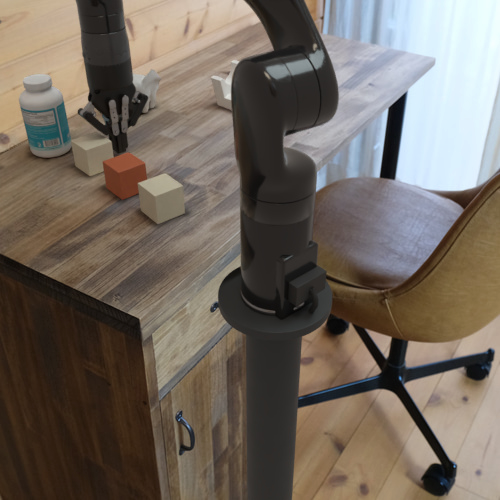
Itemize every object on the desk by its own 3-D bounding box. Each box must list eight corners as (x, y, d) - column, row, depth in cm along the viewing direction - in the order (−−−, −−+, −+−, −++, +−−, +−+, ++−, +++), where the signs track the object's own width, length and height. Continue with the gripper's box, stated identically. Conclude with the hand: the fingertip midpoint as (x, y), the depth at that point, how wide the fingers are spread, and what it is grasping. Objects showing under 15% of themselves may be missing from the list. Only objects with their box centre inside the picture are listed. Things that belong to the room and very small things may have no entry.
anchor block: (148, 189, 106) (145, 162, 103) (122, 200, 104) (118, 172, 101) (132, 178, 109) (128, 151, 106) (106, 188, 107) (102, 161, 104)
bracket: (218, 108, 135) (210, 77, 129) (240, 90, 138) (233, 59, 132) (266, 126, 128) (260, 94, 122) (288, 107, 131) (283, 74, 125)
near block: (185, 213, 100) (183, 185, 97) (157, 224, 98) (154, 196, 95) (167, 200, 104) (165, 172, 101) (140, 210, 101) (137, 182, 98)
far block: (115, 167, 113) (111, 141, 110) (90, 176, 110) (85, 150, 107) (100, 157, 116) (96, 131, 113) (75, 166, 113) (70, 140, 110)
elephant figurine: (98, 117, 129) (92, 74, 124) (130, 96, 138) (125, 55, 133) (140, 125, 126) (135, 82, 121) (169, 102, 135) (166, 61, 130)
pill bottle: (54, 137, 122) (40, 67, 114) (81, 147, 119) (68, 76, 111) (21, 152, 117) (5, 80, 109) (49, 163, 114) (34, 90, 106)
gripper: (81, 71, 99) (97, 171, 109) (154, 52, 106) (162, 147, 116) (58, 58, 103) (76, 155, 114) (129, 40, 110) (140, 133, 120)
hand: (120, 151), depth 115 cm, fingers closed
